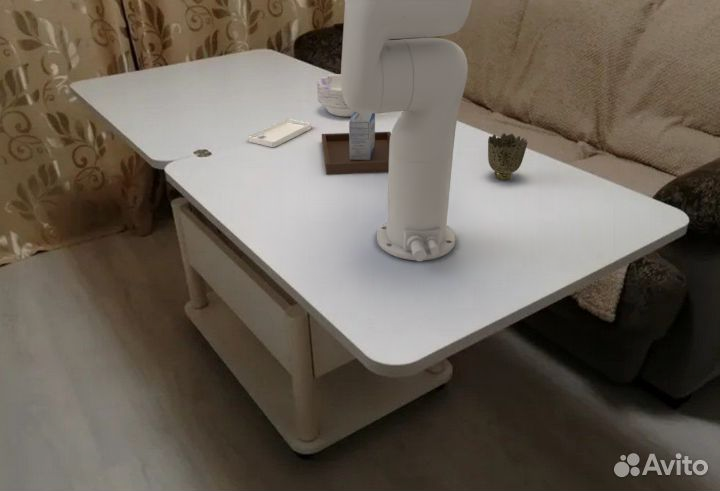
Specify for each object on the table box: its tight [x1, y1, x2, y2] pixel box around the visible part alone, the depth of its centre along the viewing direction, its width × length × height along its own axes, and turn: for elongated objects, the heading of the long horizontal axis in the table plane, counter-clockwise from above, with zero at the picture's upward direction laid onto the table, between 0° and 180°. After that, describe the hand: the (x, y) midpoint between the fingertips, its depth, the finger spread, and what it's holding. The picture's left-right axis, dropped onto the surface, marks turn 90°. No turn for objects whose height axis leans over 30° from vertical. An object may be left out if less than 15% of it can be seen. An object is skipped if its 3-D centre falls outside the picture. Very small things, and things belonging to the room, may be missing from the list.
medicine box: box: [348, 112, 376, 161], centre depth 125 cm, size 8×4×9 cm, turn 172°
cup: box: [487, 132, 529, 181], centre depth 116 cm, size 8×7×8 cm
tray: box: [321, 131, 392, 175], centre depth 127 cm, size 18×16×2 cm
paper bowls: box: [316, 73, 354, 118], centre depth 152 cm, size 15×15×8 cm
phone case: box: [248, 118, 312, 148], centre depth 139 cm, size 7×1×15 cm
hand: (359, 64), depth 118 cm, fingers open, 9 cm apart
